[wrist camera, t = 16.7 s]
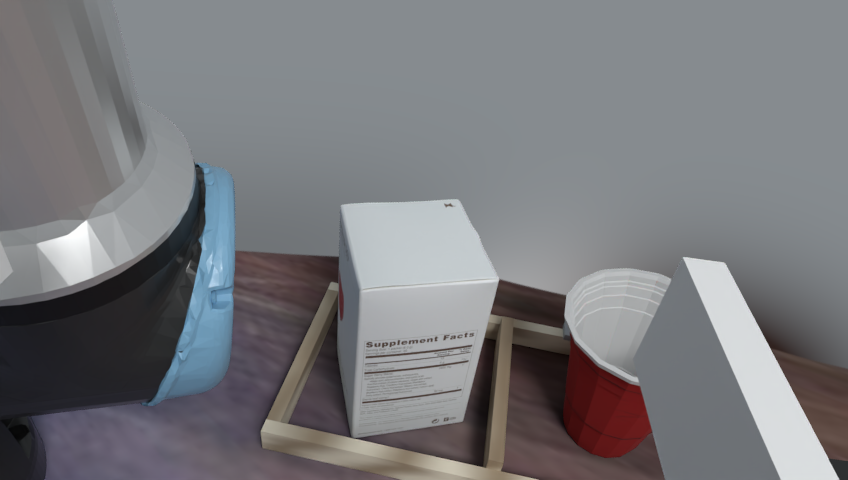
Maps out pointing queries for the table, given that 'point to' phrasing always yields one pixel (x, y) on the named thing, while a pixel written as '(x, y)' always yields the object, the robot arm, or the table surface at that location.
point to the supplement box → (410, 313)
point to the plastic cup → (608, 358)
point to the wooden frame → (417, 471)
